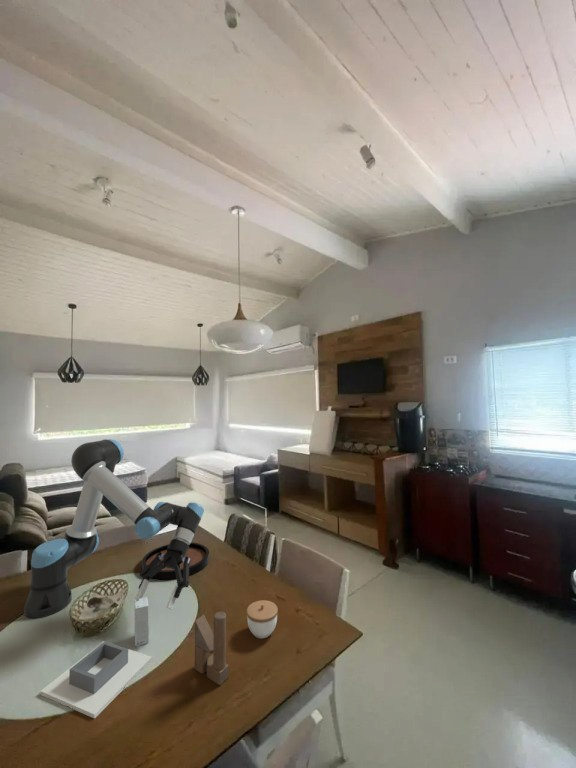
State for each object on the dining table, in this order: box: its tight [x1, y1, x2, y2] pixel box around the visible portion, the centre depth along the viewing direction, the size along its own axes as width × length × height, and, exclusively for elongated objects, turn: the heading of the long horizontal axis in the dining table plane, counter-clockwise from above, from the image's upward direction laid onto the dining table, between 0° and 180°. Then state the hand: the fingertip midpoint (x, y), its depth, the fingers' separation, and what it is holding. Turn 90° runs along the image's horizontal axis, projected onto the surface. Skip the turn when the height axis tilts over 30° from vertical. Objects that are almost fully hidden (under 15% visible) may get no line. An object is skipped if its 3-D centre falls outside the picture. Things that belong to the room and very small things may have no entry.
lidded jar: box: [246, 599, 279, 639], centre depth 115 cm, size 11×11×9 cm
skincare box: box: [134, 596, 150, 647], centre depth 112 cm, size 6×4×12 cm
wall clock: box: [141, 541, 210, 582], centre depth 164 cm, size 31×4×31 cm
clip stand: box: [40, 640, 153, 720], centre depth 97 cm, size 20×20×5 cm
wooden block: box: [194, 611, 229, 686], centre depth 98 cm, size 4×11×18 cm, turn 57°
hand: (152, 604), depth 115 cm, fingers open, 13 cm apart
